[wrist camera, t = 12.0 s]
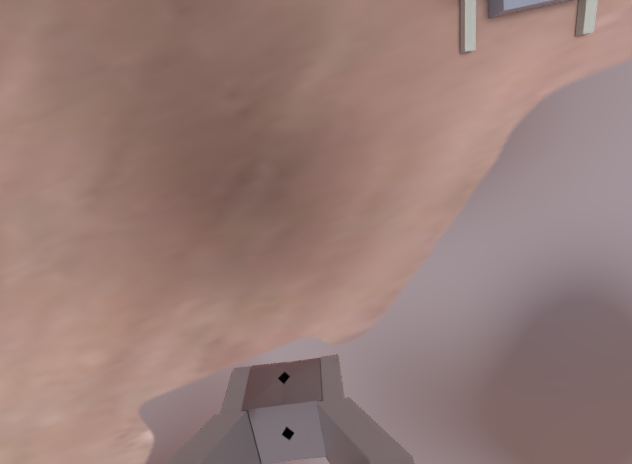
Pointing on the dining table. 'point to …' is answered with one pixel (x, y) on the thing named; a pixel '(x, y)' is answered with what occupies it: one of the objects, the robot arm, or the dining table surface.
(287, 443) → the robot arm
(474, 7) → the shelf
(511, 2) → the slab
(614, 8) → the dining table surface
